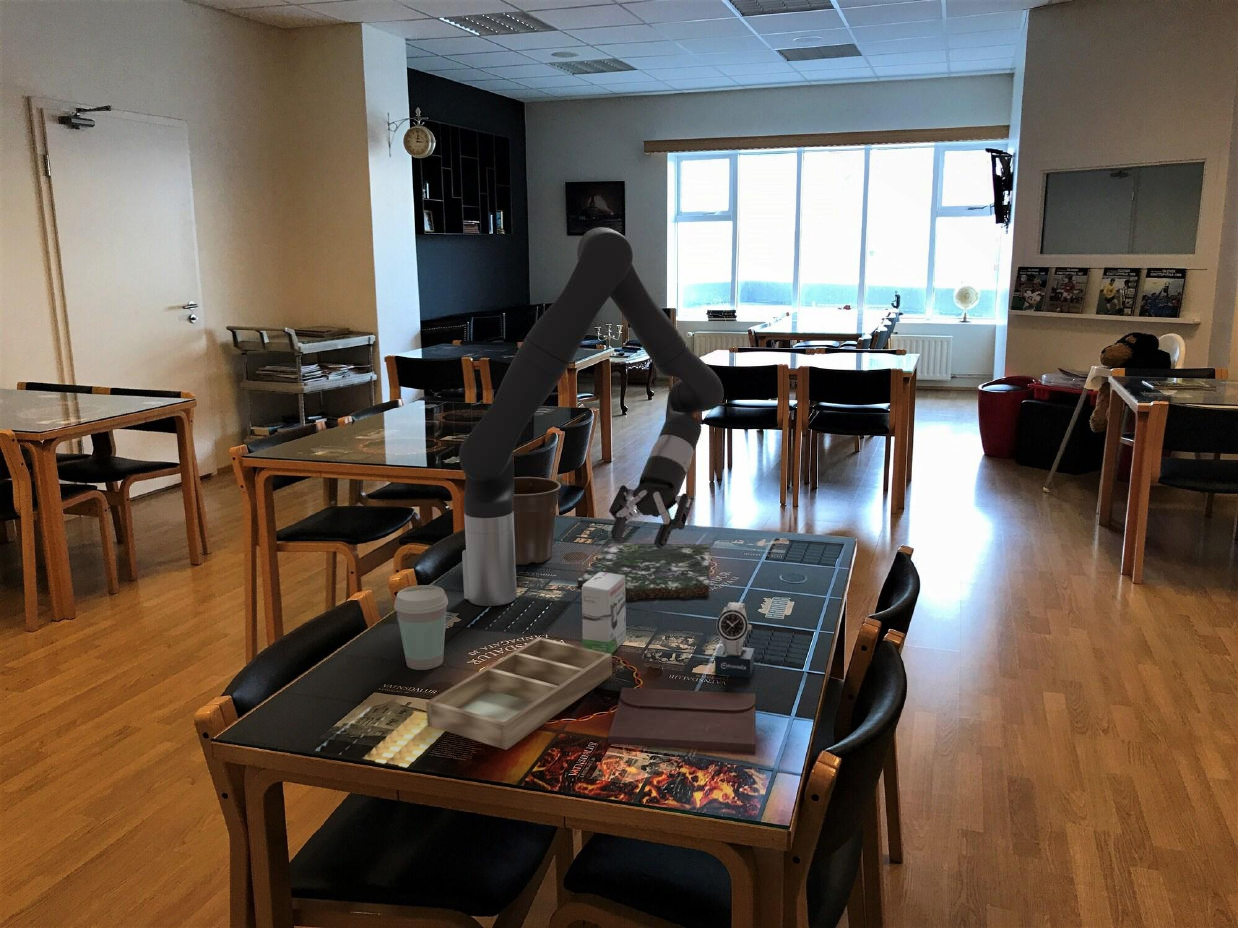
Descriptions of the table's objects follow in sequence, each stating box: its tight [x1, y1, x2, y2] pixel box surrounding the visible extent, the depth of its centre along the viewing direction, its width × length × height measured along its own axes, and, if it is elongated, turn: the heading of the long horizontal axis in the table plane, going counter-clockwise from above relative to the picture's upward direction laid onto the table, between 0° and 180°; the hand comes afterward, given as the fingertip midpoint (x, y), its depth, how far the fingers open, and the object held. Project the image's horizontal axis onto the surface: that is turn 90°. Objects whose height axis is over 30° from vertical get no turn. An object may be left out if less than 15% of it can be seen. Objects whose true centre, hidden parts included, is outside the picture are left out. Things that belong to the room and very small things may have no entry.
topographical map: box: [577, 542, 710, 601], centre depth 202 cm, size 26×33×3 cm
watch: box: [714, 601, 755, 679], centre depth 153 cm, size 6×8×11 cm
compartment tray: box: [425, 636, 613, 751], centre depth 145 cm, size 14×27×4 cm, turn 149°
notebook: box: [607, 687, 757, 753], centre depth 138 cm, size 15×20×2 cm
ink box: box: [581, 572, 627, 655], centre depth 163 cm, size 9×5×12 cm, turn 160°
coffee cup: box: [393, 584, 449, 671], centre depth 158 cm, size 9×9×12 cm
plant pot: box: [513, 476, 562, 566], centre depth 211 cm, size 16×16×16 cm
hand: (636, 542), depth 170 cm, fingers open, 8 cm apart
